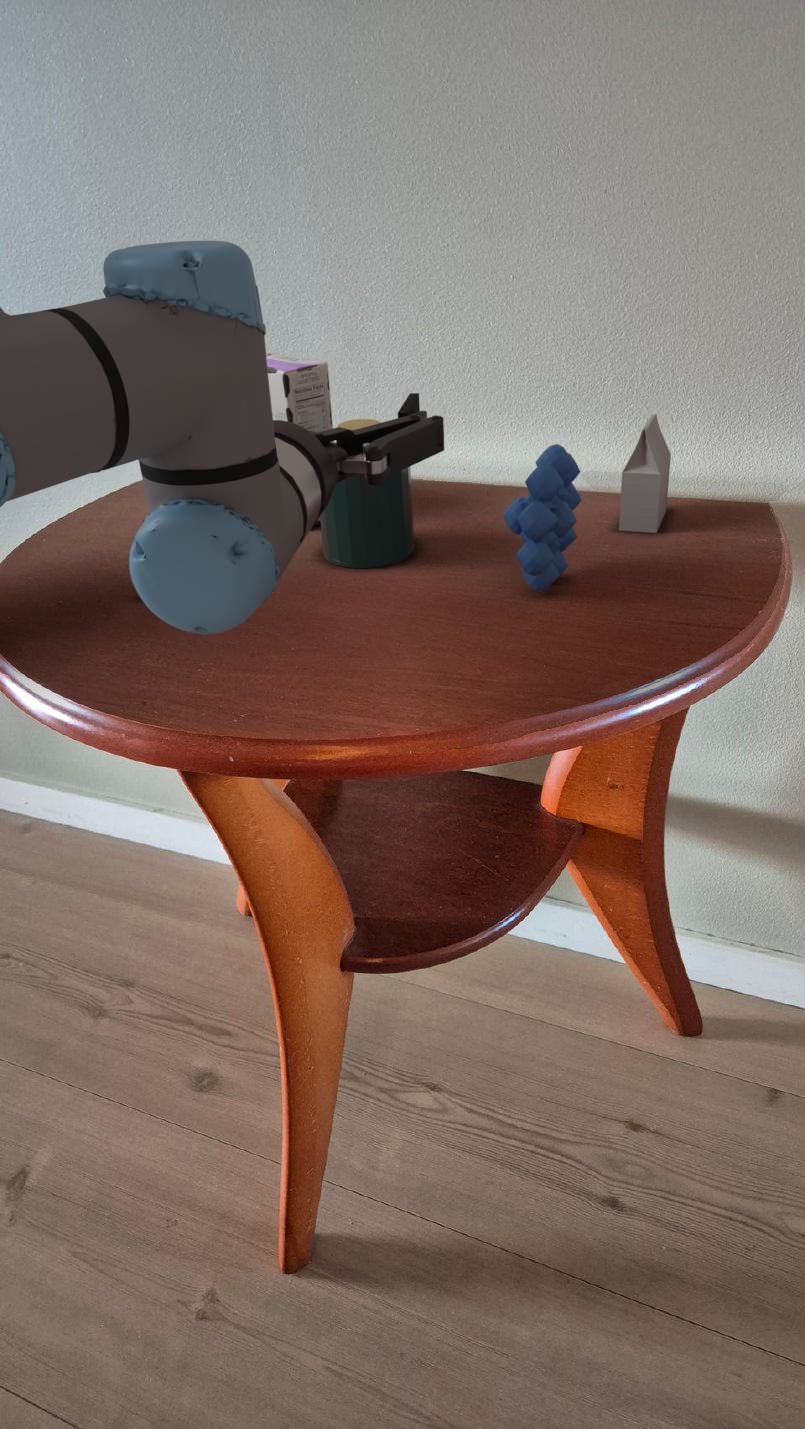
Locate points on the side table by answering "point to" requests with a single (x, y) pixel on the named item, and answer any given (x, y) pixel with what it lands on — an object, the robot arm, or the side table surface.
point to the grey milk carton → (645, 482)
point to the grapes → (546, 517)
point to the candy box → (300, 392)
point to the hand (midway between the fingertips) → (335, 411)
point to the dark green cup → (369, 522)
